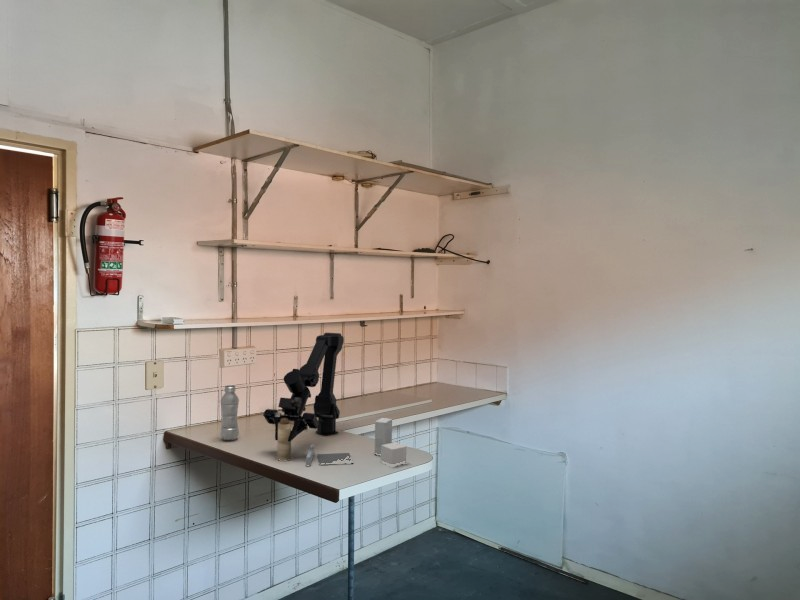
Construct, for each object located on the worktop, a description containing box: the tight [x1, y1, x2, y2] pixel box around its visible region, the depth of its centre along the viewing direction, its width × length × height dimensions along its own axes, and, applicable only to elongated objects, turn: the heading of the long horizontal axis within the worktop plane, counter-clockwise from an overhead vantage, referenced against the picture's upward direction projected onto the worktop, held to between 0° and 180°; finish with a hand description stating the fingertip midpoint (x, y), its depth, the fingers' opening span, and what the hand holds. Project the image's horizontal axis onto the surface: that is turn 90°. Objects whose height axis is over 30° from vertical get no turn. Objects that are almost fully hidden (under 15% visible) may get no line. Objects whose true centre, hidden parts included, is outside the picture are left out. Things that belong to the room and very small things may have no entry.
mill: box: [276, 417, 292, 461], centre depth 195 cm, size 4×4×14 cm
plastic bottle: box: [219, 384, 240, 441], centre depth 216 cm, size 6×7×20 cm
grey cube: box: [380, 442, 407, 464], centre depth 194 cm, size 6×6×6 cm
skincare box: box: [374, 417, 393, 454], centre depth 203 cm, size 6×4×12 cm
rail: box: [305, 444, 316, 466], centre depth 195 cm, size 14×1×3 cm, turn 2°
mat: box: [316, 452, 352, 465], centre depth 196 cm, size 11×11×1 cm
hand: (282, 440), depth 194 cm, fingers closed on mill, 4 cm apart
